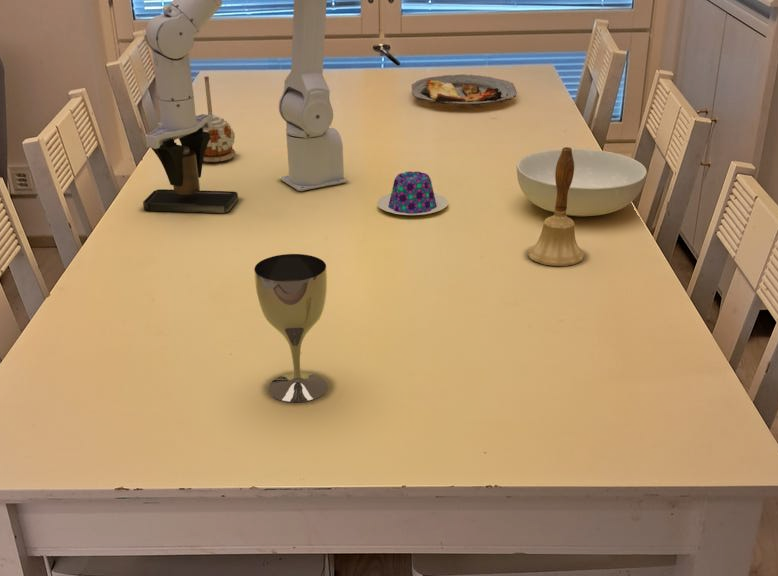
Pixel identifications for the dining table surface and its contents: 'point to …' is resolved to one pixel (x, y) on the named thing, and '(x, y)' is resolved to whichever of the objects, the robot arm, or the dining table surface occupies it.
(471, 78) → the food plate
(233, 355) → the dining table surface
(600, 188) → the serving bowl
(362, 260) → the dining table surface
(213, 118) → the caramel apple
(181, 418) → the dining table surface
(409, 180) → the pudding
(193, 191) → the salt shaker
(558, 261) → the hand bell
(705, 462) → the dining table surface
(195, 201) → the phone
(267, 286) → the wine glass
